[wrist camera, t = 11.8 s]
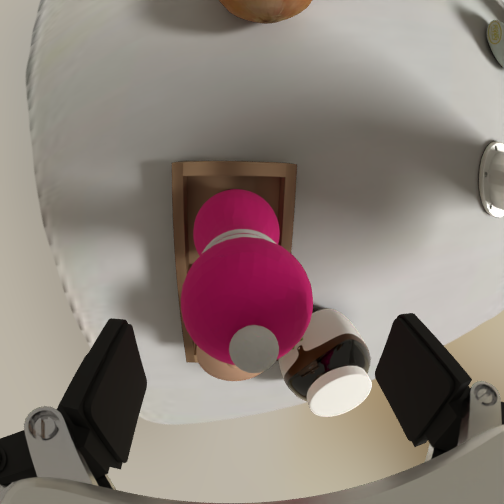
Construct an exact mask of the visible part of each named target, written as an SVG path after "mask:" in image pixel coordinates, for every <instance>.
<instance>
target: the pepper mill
mask: <svg viewBox="0 0 504 504" xmlns="http://www.w3.org/2000/svg"><path fill="white" fill-rule="evenodd" d="M279 236H280V229H279V223H278V220H277V217H276V215H275V213H274V211H273V209H272V208H271V206H270V205H269V203H268V202H266V201H265V200H264V199H263V198H262V197H260V196H259V195H257V194H255V193H253V192H250V191H246V190H242V189H230V190H226V191H223V192H220V193H218V194H216V195H214V196H212V197H211V198H210V199H208V200H207V201H206V202H205V203H204V204H203V206H202V207H201V208H200V210H199V212H198V214H197V216H196V219H195V222H194V230H193V239H194V244H195V247H196V250H197V252H198V254H199V258H198V259H197V260H196V261H195V262H194V263H193V264H192V266H191V268H190V270H189V271H188V273H187V276H186V278H185V281H184V283H183V286H182V293H181V312H182V317H183V321H184V324H185V327H186V330H187V332H188V333H189V335H190V336H191V338H192V340H193V341H194V343H195V344H196V345H197V346H198V347H199V348H200V349H201V350H203V351H204V352H205V353H207V354H208V355H209V356H211V357H213V358H215V359H217V360H219V361H221V362H224V363H227V364H231V365H236V366H237V367H238V368H239V369H241V370H243V371H245V372H248V373H261V372H263V371H265V370H267V369H269V368H270V367H271V366H272V365H273V364H274V363H275V361H276V360H277V359H279V358H280V357H282V356H284V355H285V354H287V353H288V352H289V351H290V350H291V349H292V348H293V347H294V346H295V345H296V344H297V343H298V342H299V341H300V340H301V338H302V337H303V335H304V333H305V331H306V330H307V327H308V325H309V323H310V320H311V316H312V311H313V297H312V289H311V284H310V282H309V279H308V277H307V274H306V272H305V270H304V269H303V267H302V265H301V264H300V263H299V262H298V261H297V259H296V258H295V257H294V256H293V255H292V254H291V253H290V252H288V251H287V250H286V249H285V248H283V247H282V246H280V245H278V242H279Z"/></svg>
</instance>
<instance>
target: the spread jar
mask: <svg viewBox="0 0 504 504" xmlns="http://www.w3.org/2000/svg"><path fill="white" fill-rule="evenodd" d="M370 360H371V359H370V353H369V350H368V348H367V346H366V344H365V342H364V340H363V338H362V337H361V335H360V334H359V332H358V331H357V329H356V328H355V327H354V325H353V324H352V323H351V322H350V321H349V320H348V318H346V317H345V316H344V315H343V314H341V313H340V312H338V311H337V310H334V309H330V308H322V309H317V310H313V311H312V316H311V320H310V323H309V325H308V327H307V330H306V331H305V333H304V335H303V337H302V338H301V340H300V341H299V342H298V343H297V344H296V345H295V346H294V347H293V348H292V349H291V350H290V351H289V352H288V353H287V354H285V355H284V356H282V357H280V358H279V360H278V361H279V365H280V369H281V373H282V376H283V379H284V381H285V383H286V385H287V386H288V387H289V389H290V390H291V391H292V392H293V393H294V394H295V395H296V396H297V397H298V398H300V399H302V400H305V401H307V402H308V404H309V408H310V410H311V412H313V413H314V414H315V415H318V416H322V417H331V416H336V415H340V414H343V413H346V412H348V411H350V410H352V409H353V408H355V407H356V406H358V405H359V404H360V403H361V402H362V401H364V400H365V398H366V397H367V396H368V394H369V393H370V390H371V387H372V383H371V380H370V378H369V377H368V375H367V373H368V370H369V367H370Z"/></svg>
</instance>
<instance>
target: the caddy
mask: <svg viewBox="0 0 504 504" xmlns="http://www.w3.org/2000/svg"><path fill="white" fill-rule="evenodd" d="M296 175H297V164H291V163H278V162H253V161H183V162H174V163H172V204H173V229H174V247H175V262H176V275H177V286H178V297H179V306H180V315H181V324H182V332H183V340H184V347H185V354H186V361H187V362H198V360H197V356H196V349H197V345H196V344H195V343H194V341H193V340H192V338H191V336H190V335H189V333H188V332H187V330H186V327H185V324H184V321H183V317H182V312H181V293H182V286H183V283H184V281H185V278H186V276H187V273H188V271H189V270H190V268H191V266H192V264H193V263H194V262H195V261H196V260H197V259H198V258H199V254H198V252H197V250H196V247H195V244H194V239H193V230H194V222H195V219H196V216H197V214H198V212H199V210H200V208H201V207H202V206H203V204H204V203H205V202H206V201H207V200H208V199H210V198H211V197H212V196H214V195H216V194H218V193H220V192H223V191H226V190H230V189H242V190H246V191H250V192H253V193H255V194H257V195H259V196H260V197H262V198H263V199H264V200H265V201H266V202H268V203H269V205H270V206H271V208H272V209H273V211H274V213H275V215H276V217H277V220H278V223H279V229H280V236H279V242H278V245H280V246H282V247H283V248H285V249H286V250H287V251H288V252H290V253H291V247H292V235H293V222H294V208H295V192H296ZM278 360H279V359H277V360H276V361H278Z"/></svg>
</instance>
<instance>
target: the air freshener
mask: <svg viewBox="0 0 504 504" xmlns="http://www.w3.org/2000/svg"><path fill="white" fill-rule="evenodd" d="M487 39H488V43H489V46H490V48H491V50H492V52H493V54H494V56H495V58H496V59H497V61H498V62H499V63H500V65H501V66H502V67H503V68H504V23H503V22H501V21H498V20H493V21H491V22H490V24H489V25H488V28H487Z"/></svg>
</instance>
